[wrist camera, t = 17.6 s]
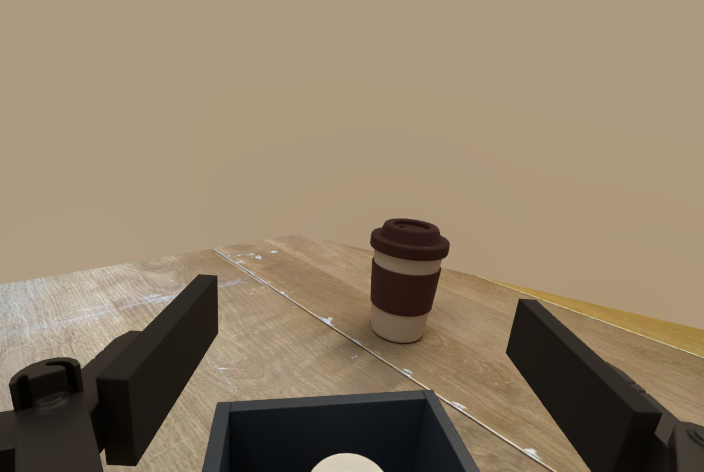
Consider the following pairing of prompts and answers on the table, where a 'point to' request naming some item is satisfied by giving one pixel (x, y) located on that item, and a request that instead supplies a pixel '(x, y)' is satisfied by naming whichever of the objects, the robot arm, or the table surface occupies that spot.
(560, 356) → the robot arm
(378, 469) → the pill bottle
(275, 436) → the waste bin
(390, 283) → the coffee cup
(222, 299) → the table surface
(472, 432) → the table surface
